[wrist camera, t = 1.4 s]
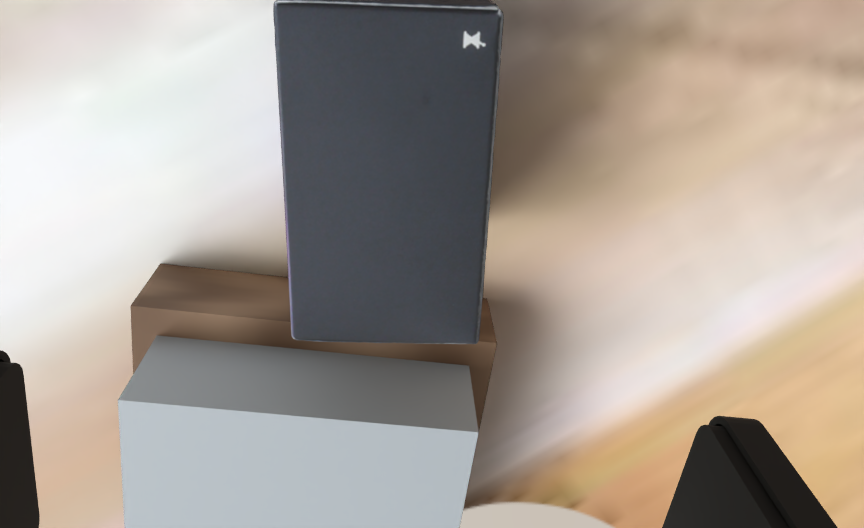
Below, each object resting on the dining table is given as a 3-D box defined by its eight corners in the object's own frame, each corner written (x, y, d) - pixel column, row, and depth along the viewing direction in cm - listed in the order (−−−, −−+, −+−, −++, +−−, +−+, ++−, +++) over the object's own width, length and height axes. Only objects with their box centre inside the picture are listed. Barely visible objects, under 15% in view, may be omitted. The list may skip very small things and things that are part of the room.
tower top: (469, 365, 31) (478, 432, 27) (428, 584, 37) (431, 667, 32) (156, 335, 30) (118, 400, 26) (162, 565, 35) (130, 649, 31)
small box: (308, -34, 28) (259, -11, 18) (477, -28, 28) (515, -3, 19) (317, 223, 32) (282, 348, 23) (463, 225, 33) (488, 349, 23)
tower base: (485, 293, 35) (497, 342, 31) (440, 528, 41) (445, 595, 37) (163, 258, 33) (130, 306, 29) (167, 507, 40) (140, 574, 36)
